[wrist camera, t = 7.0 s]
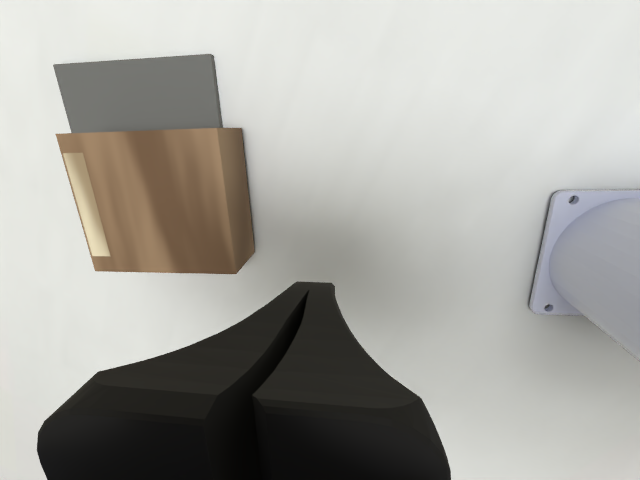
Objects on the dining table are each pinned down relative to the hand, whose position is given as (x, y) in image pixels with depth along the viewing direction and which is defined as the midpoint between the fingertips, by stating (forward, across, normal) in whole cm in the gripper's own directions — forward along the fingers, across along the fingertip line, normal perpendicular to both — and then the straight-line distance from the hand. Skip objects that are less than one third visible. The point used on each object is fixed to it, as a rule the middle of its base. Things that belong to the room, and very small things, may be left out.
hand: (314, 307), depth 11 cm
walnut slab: (+8, +6, -2) cm, 10 cm away
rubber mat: (+10, +12, -4) cm, 16 cm away
